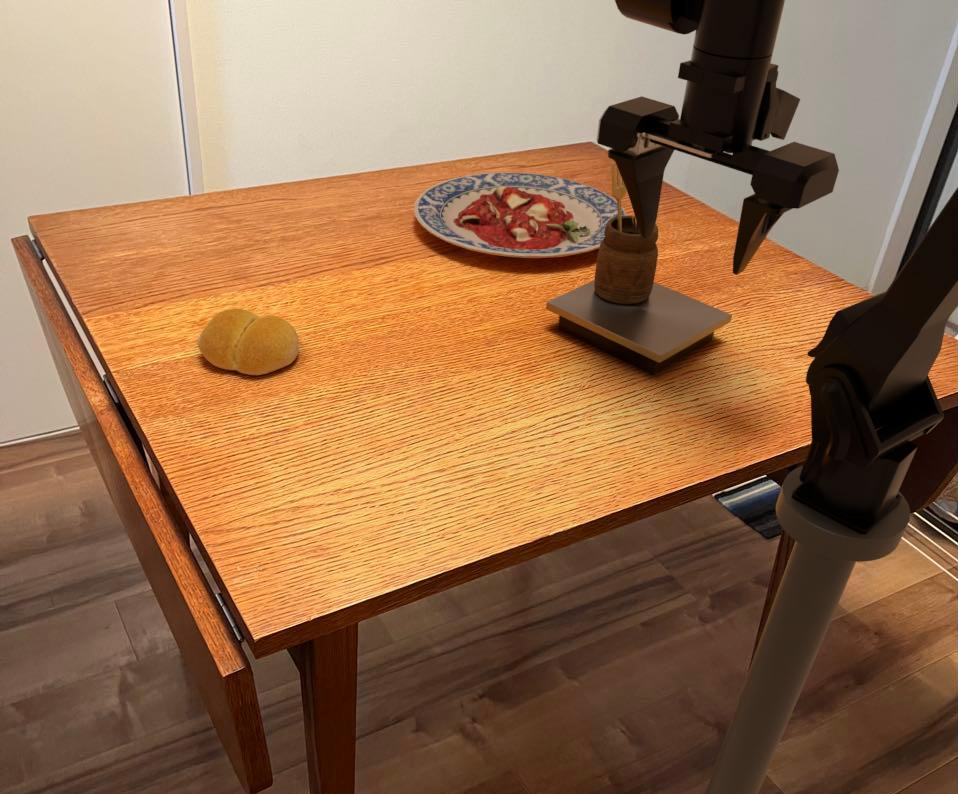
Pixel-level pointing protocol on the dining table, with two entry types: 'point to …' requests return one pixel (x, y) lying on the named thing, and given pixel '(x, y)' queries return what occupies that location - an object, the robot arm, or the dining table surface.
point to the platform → (639, 325)
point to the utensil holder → (625, 256)
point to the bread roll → (248, 342)
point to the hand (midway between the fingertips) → (690, 254)
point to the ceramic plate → (517, 214)
